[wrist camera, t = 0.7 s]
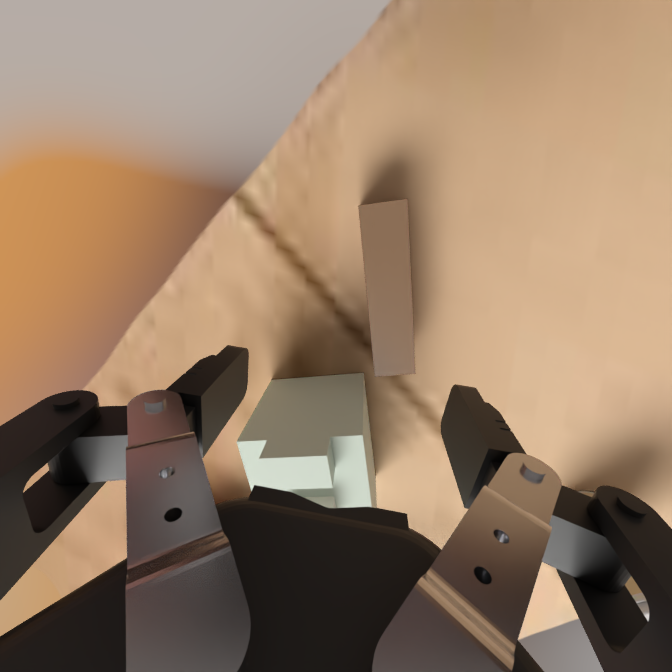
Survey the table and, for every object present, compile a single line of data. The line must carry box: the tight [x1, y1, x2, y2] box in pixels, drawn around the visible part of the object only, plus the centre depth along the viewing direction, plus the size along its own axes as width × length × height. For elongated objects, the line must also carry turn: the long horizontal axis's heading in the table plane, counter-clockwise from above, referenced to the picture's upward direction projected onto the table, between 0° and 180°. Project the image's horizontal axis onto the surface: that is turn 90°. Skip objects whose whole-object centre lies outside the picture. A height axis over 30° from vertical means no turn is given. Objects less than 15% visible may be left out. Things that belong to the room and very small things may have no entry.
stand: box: [237, 373, 377, 508], centre depth 31 cm, size 10×14×12 cm
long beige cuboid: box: [358, 199, 415, 377], centre depth 28 cm, size 4×14×5 cm, turn 8°
